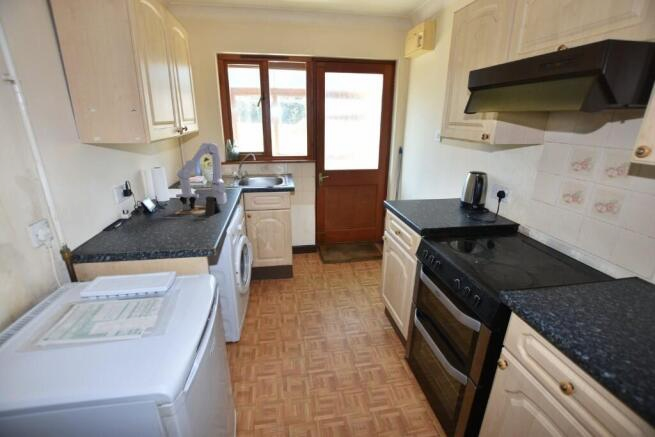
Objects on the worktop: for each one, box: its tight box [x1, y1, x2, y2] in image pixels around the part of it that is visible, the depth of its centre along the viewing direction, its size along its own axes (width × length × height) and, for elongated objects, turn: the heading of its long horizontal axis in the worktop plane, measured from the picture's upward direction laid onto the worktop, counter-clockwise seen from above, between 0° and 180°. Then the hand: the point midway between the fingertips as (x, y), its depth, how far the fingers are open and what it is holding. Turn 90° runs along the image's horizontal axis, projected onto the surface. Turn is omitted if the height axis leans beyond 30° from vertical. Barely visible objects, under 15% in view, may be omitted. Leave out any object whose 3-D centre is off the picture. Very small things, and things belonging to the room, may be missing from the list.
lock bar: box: [182, 200, 196, 211], centre depth 196 cm, size 8×4×5 cm, turn 176°
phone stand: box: [204, 196, 222, 217], centre depth 191 cm, size 9×6×12 cm, turn 158°
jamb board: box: [174, 205, 206, 215], centre depth 201 cm, size 18×18×2 cm
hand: (189, 208), depth 197 cm, fingers closed on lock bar, 4 cm apart
